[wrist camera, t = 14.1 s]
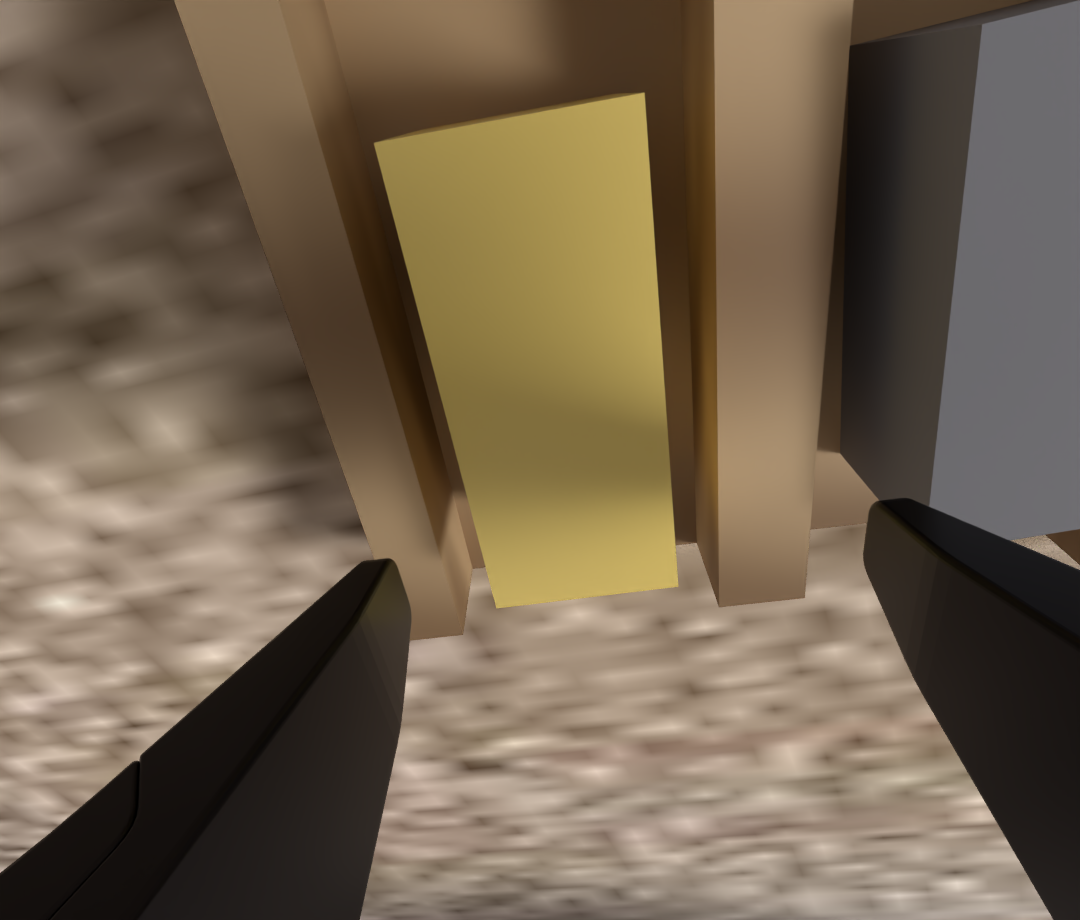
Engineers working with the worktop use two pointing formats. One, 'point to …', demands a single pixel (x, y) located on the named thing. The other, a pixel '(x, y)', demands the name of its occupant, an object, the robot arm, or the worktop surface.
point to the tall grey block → (966, 268)
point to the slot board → (679, 230)
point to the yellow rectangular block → (545, 339)
